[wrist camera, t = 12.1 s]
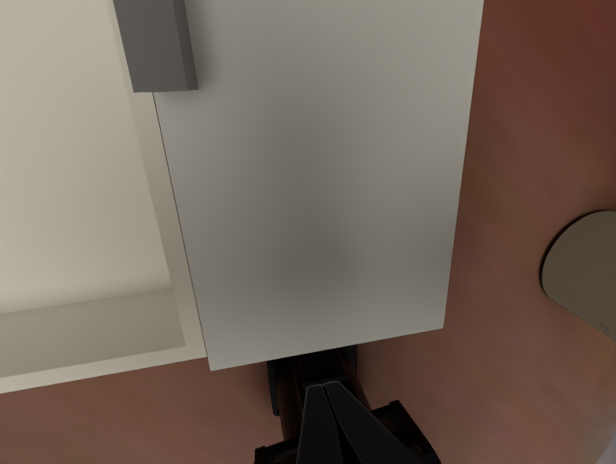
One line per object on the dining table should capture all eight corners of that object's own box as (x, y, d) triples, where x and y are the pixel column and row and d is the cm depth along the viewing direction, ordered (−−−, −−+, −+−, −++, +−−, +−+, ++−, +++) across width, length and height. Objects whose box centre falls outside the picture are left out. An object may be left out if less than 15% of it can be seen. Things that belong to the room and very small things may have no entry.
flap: (432, 316, 18) (483, 373, 14) (211, 355, 16) (205, 433, 12) (485, -181, 11) (617, -321, 7) (98, -214, 9) (4, -428, 5)
